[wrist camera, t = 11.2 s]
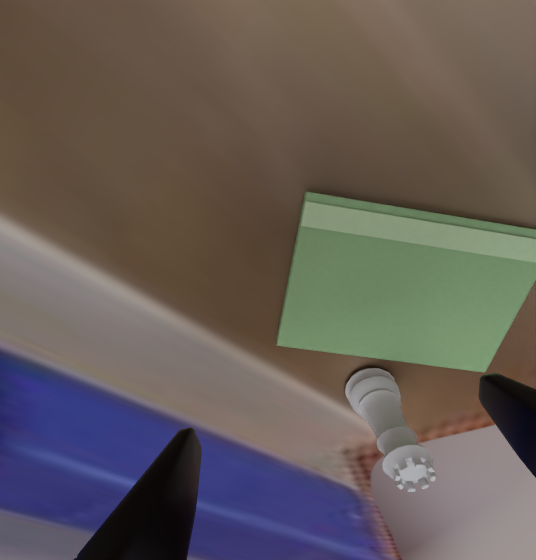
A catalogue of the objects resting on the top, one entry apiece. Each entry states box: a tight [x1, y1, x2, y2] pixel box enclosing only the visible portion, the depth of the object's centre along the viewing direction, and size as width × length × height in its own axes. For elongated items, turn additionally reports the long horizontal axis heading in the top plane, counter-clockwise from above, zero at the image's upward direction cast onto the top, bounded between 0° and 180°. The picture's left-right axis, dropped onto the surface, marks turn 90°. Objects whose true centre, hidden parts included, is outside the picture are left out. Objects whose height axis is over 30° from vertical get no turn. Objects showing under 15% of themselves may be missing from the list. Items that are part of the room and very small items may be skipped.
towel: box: [276, 192, 536, 372], centre depth 20 cm, size 18×12×1 cm, turn 81°
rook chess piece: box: [345, 368, 436, 492], centre depth 20 cm, size 4×4×8 cm
